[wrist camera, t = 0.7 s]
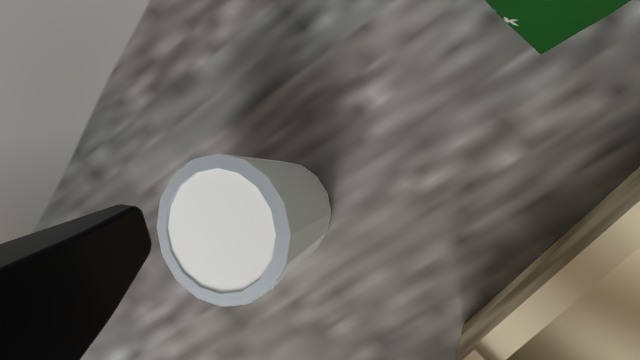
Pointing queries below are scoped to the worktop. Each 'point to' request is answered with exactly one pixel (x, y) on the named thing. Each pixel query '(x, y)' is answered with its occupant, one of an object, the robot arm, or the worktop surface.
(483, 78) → the worktop surface
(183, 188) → the shot glass
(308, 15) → the worktop surface
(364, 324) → the worktop surface
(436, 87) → the worktop surface
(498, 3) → the milk carton
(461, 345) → the beige open tray
